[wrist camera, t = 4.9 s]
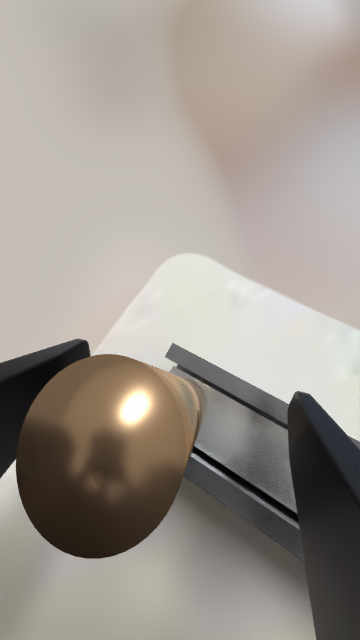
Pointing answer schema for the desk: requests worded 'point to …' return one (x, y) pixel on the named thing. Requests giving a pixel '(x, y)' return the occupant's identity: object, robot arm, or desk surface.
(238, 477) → the sleeve
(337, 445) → the robot arm
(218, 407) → the panel with brass knob
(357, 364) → the desk surface
